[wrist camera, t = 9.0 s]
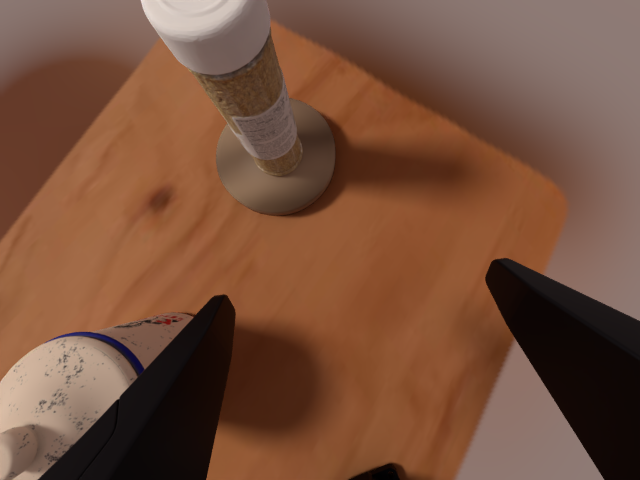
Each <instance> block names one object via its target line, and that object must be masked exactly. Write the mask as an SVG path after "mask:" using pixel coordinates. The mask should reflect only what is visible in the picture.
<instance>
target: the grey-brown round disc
mask: <svg viewBox="0 0 640 480" xmlns="http://www.w3.org/2000/svg"><path fill="white" fill-rule="evenodd" d="M289 100H290V104H291V108H292V111H293V115H294V119H295V123H296V127H297V135H298V138H299V139H300V141H301V144H302V148H303V154H302V159H301V161H300V164H299V165H298V167H297V168H296V169H294V170H293V171H292V172H290V173H288V174H286V175H283V176H273V175H269V174H266V173H264V172H263V171H262V170H260V169H259V168H258V166H257V165H256V163H255V161H254V159H253V157H252V156H251V154H250V153H249V152H248V151H247V150H246V149H245V148H244V146H243V145H242V144H241V142H240V141H239V140H238V138H237V137H236V135H235V134H234V133H233V131H232V130H231V128H230V127H229V125H228V123H227V125H226V126H225V128H224V130H223V131H222V133H221V136H220V138H219V141H218V145H217V151H216V164H217V170H218V174H219V177H220V179H221V181H222V183H223V185H224V186H225V188H226V189H227V191H228V192H229V193H230V194H231V195H232V196H233V197H234V198H235V199H236V200H238V201H239V202H240V203H242V204H243V205H245V206H246V207H248V208H249V209H251V210H253V211H255V212H258V213H261V214H266V215H274V216H280V215H288V214H292V213H295V212H298V211H301V210H303V209H305V208H307V207H308V206H310V205H311V204H313V203H314V202H315V201H316V200H317V199H318V198H319V197H320V196H321V195H322V194H323V193H324V191H325V190H326V188H327V187H328V185H329V183H330V181H331V179H332V176H333V173H334V168H335V142H334V137H333V134H332V132H331V129H330V127H329V125H328V123H327V122H326V121H325V119H324V118H323V117H322V116H321V115H320V113H319V112H318V111H316V110H315V109H314V108H312V107H311V106H309V105H307V104H306V103H303V102H301V101H299V100H295V99H292V98H289Z"/></svg>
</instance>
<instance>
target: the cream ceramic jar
mask: <svg viewBox="0 0 640 480" xmlns="http://www.w3.org/2000/svg"><path fill="white" fill-rule="evenodd" d="M192 318H193V317H192V316H190V315H187V314H183V313H165V314H161V315H157V316H153V317H149V318H145V319H141V320H137V321H133V322H129V323H125V324H121V325H117V326H113V327H109V328H106V329H102V330H98V331H94V332H75V333H69V334H65V335H62V336H58V337H56V338H54V339H51V340H49V341H47V342H45V343H44V344H42V345H40V346H38V347H37V348H35V349H33V350H32V351H30V352H29V353H28V354H26V355H25V356H24V357H23V358H21V359H20V360H19V361H18V362H17V363H16V364H15V365H14V366H13V367H12V368H11V369H10V370H9V372H8V373H7V374H6V375H5V377H4V378H3V379H2V381H1V383H0V480H38V479H39V478H40V477H41V476H42V475H43V474H44V473H45V472H46V471H47V470H48V469H49V468H50V467H51V466H52V465H53V464H54V463H55V462H56V461H57V460H58V459H59V458H60V457H61V456H62V455H63V454H64V453H65V452H66V451H67V450H68V449H69V448H70V447H71V446H72V445H73V444H74V443H75V442H76V441H77V440H78V439H80V438H81V437H82V436H83V434H84V433H85V432H86V431H87V430H88V429H89V428H90V427H91V426H92V425H93V424H94V423H95V422H96V421H97V420H98V419H99V418H100V417H101V416H102V415H103V414H104V413H105V412H106V410H107V409H108V408H109V407H110V406H111V405H112V404H113V403H114V402H115V401H116V400H117V399H119V397H120V396H121V395H122V393H123V392H124V391H125V390H126V389H127V388H128V387H129V386H130V385H131V384H132V383H133V382H134V381H135V380H136V378H137V377H138V376H139V375H140V374H141V373H142V372H143V371H144V370H145V369H146V368H147V367H148V366H149V365H150V363H151V362H152V361H153V360H154V359H155V358H156V357H157V356H158V355H159V354H160V353H161V352H162V351H163V350H164V348H165V347H166V346H167V345H168V344H169V343H170V342H171V341H172V340H173V339H174V338H175V337H176V336H177V335H178V333H179V332H180V331H181V330H182V329H183V328H184V327H185V326H186V325H187V324H188V323H189V322H190V321H191V320H192Z"/></svg>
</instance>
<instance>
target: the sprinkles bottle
mask: <svg viewBox="0 0 640 480" xmlns="http://www.w3.org/2000/svg"><path fill="white" fill-rule="evenodd" d="M141 2H142V6H143V10H144V12H145V14H146V16H147V18H148V20H149V22H150V23H151V24H152V26H153V27H154V29H155V30H156V31H157V33H158V34H159V36H160V37H161V38H162V40H163V41H164V43H165V44H166V45H167V47H168V48H169V49H170V51H171V52H172V53H173V55H174V56H175V57H176V58H177V60H178V61H179V62H180V63H181V64H183V65H184V66H186V67H187V68H188V69H189V71H190V72H191V73H192V74H193V75H194V76H195V78H196V79H197V80H198V82H199V84H200V85H201V86H202V88H203V89H204V90H205V92H206V94H207V95H208V96H209V98H210V99H211V100H212V102H213V103H214V105H215V106H216V107H217V109H218V110H219V112H220V113H221V115H222V116H223V117H224V119H225V120H226V121H227V123H228V125H229V127H230V128H231V130H232V131H233V133H234V134H235V135H236V137H237V138H238V140H239V141H240V142H241V144H242V145H243V146H244V148H245V149H246V150H247V151H248V152H249V153H250V154H251V156H252V157H253V159H254V161H255V163H256V165H257V166H258V168H259V169H260V170H262V171H263V172H264V173H266V174H269V175H273V176H283V175H286V174H288V173H290V172H292V171H293V170H294V169H296V168H297V167H298V165H299V164H300V161H301V159H302V154H303V148H302V144H301V141H300V139H299V138H298V135H297V127H296V123H295V119H294V115H293V111H292V108H291V104H290V100H289V96H288V93H287V89H286V85H285V80H284V77H283V73H282V70H281V68H280V66H279V63H278V59H277V55H276V52H275V48H274V44H273V40H272V37H271V27H270V14H269V9H268V5H267V1H266V0H141Z"/></svg>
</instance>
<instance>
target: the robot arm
mask: <svg viewBox="0 0 640 480" xmlns="http://www.w3.org/2000/svg"><path fill="white" fill-rule="evenodd" d="M485 280H486V284H487V286H488V288H489V290H490V292H491V294H492V296H493V298H494V300H495V302H496V304H497V306H498V308H499V310H500V312H501V314H502V316H503V318H504V320H505V322H506V324H507V326H508V327H509V329H510V331H511V332H512V334H513V336H514V337H515V339H516V340H517V342H518V344H519V345H520V347H521V348H522V350H523V351H524V353H525V355H526V356H527V358H528V359H529V361H530V363H531V364H532V365H533V367H534V369H535V370H536V372H537V374H538V375H539V377H540V378H541V380H542V382H543V383H544V385H545V386H546V388H547V389H548V391H549V393H550V394H551V396H552V397H553V399H554V401H555V402H556V404H557V405H558V407H559V409H560V410H561V412H562V413H563V415H564V416H565V418H566V419H567V421H568V423H569V424H570V426H571V427H572V429H573V431H574V432H575V433H576V435H577V437H578V439H579V440H580V442H581V443H582V445H583V447H584V448H585V450H586V451H587V453H588V454H589V456H590V457H591V459H592V461H593V462H594V464H595V465H596V467H597V468H598V470H599V472H600V473H601V475H602V477H603V478H604V480H640V321H639V320H637V319H634V318H632V317H630V316H628V315H626V314H624V313H622V312H620V311H618V310H615V309H613V308H611V307H609V306H607V305H605V304H603V303H601V302H599V301H597V300H594V299H592V298H590V297H588V296H586V295H584V294H582V293H580V292H578V291H576V290H573V289H571V288H569V287H567V286H565V285H563V284H561V283H559V282H557V281H554V280H553V279H550V278H548V277H546V276H544V275H542V274H540V273H538V272H536V271H534V270H532V269H529V268H527V267H525V266H523V265H521V264H519V263H517V262H515V261H513V260H511V259H508V258H502V259H495V260H493V261H492V262H491V264H490V267H489V269H488V271H487V274H486V277H485ZM235 315H236V314H235V309H234V307H233V305H232V303H231V301H230V300H229V298H228V296H227V295H216V296H214V297H212V298H211V299H210V300H209V301H208V302H207V303H206V305H205V306H204V307H203V308H202V309H201V310H200V311H199V312H198V313H197V314H196V315H195V316H194V317H193V318H192V320H191V321H190V322H189V323H188V324H187V325H186V326H185V327H184V328H183V329H182V330H181V331H180V332H179V333H178V335H177V336H176V337H175V338H174V339H173V340H172V341H171V342H170V343H169V344H168V345H167V346H166V347H165V348H164V350H163V351H162V352H161V353H160V354H159V355H158V356H157V357H156V358H155V359H154V360H153V361H152V362H151V363H150V365H149V366H148V367H147V368H146V369H145V370H144V371H143V372H142V373H141V374H140V375H139V376H138V377H137V378H136V380H135V381H134V382H133V383H132V384H131V385H130V386H129V387H128V388H127V389H126V390H125V391H124V392H123V393H122V395H121V396H120V397H119V399H117V400H116V401H115V402H114V403H113V404H112V405H111V406H110V407H109V408H108V409H107V410H106V412H105V413H104V414H103V415H102V416H101V417H100V418H99V419H98V420H97V421H96V422H95V423H94V424H93V425H92V426H91V427H90V428H89V429H88V430H87V431H86V432H85V433H84V434H83V436H82V437H81V438H80V439H78V440H77V441H76V442H75V443H74V444H73V445H72V446H71V447H70V448H69V449H68V450H67V451H66V452H65V453H64V454H63V455H62V456H61V457H60V458H59V459H58V460H57V461H56V462H55V463H54V464H53V465H52V466H51V467H50V468H49V469H48V470H47V471H46V472H45V473H44V474H43V475H42V476H41V477H40V478H39V479H38V480H206V478H207V473H208V468H209V463H210V459H211V454H212V449H213V444H214V439H215V434H216V430H217V425H218V420H219V415H220V410H221V406H222V401H223V396H224V391H225V386H226V381H227V377H228V372H229V367H230V362H231V356H232V347H233V336H234V326H235ZM390 471H391V472H393V473H392V474H388V472H390ZM349 480H400V478H399V476H398V473H397V471H396V468H395V467H394V466H393V465H392V464H387V465H384V466H382V467H380V468H377V469H375V470H372V471H370V472H366V473H364V474H361V475H359V476H356V477H354V478H351V479H349Z"/></svg>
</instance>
